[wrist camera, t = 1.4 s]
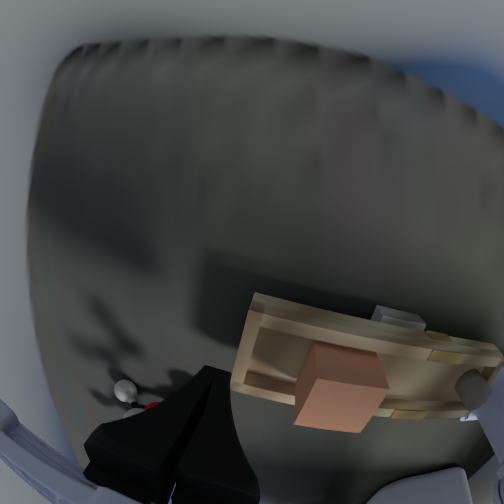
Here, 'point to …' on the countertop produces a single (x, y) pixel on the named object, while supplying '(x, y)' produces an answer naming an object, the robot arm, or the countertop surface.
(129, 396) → the molecular model
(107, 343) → the countertop surface
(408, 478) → the plastic bottle
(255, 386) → the wooden tray
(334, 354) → the pink cube
